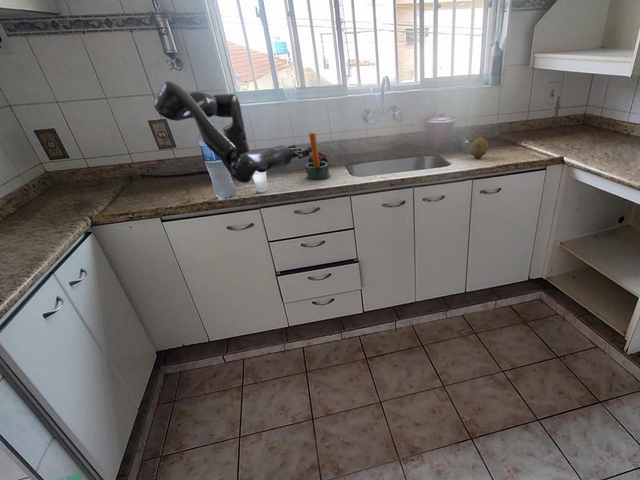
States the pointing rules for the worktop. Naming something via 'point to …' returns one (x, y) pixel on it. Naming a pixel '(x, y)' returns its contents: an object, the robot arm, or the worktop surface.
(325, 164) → the utensil cup
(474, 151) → the brown potato
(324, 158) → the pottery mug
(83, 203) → the worktop surface
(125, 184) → the worktop surface
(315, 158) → the dish brush
